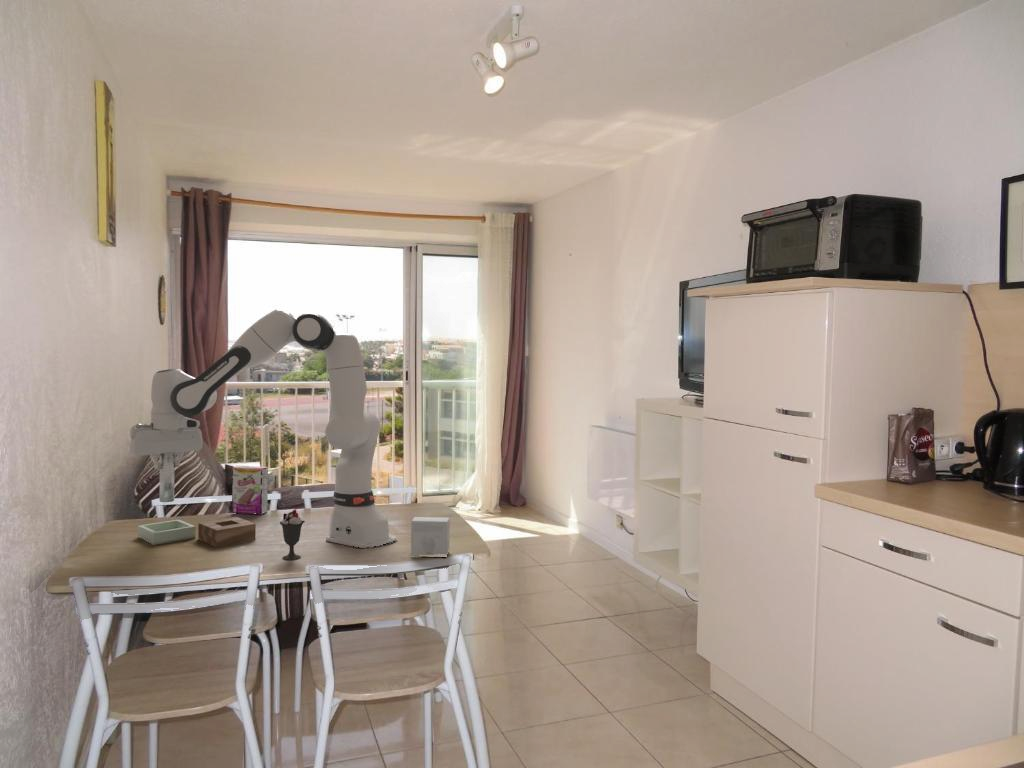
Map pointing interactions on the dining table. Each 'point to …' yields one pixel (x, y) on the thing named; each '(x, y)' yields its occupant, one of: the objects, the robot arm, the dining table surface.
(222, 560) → the dining table surface
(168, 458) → the steel pin
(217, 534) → the socket block
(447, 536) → the skincare box
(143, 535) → the tray
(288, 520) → the sundae
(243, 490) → the candy bar box
